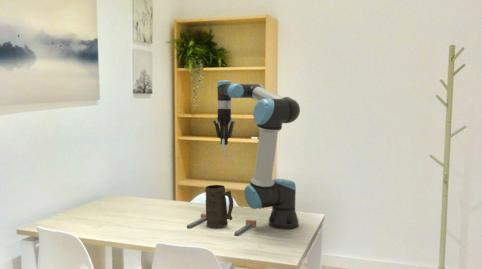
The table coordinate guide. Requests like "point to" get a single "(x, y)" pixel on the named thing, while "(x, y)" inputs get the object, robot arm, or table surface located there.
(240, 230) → the grey and brown bars
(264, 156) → the robot arm
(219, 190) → the beer stein
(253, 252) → the table surface
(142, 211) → the table surface
